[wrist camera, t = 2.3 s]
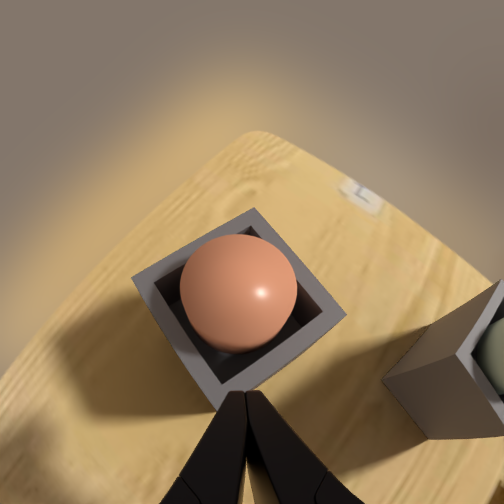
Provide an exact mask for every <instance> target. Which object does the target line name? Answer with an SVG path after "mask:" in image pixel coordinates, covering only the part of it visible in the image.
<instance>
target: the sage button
mask: <svg viewBox="0 0 504 504" xmlns="http://www.w3.org/2000/svg"><path fill="white" fill-rule="evenodd" d="M477 364H478V366H479V367H480V369H481V370H482V372H483V373H484V375H485V376H486V378H487V379H488V381H489V382H490V384H491V385H492V387H493V388H494V390H495V391H496V393H497V394H498V395H501V394H504V318H502V319H500V320H498V321H497V322H495V323H493V324H491V325H489V326H488V327H487V328H486V330H485V331H484V333H483V335H482V336H481V338H480V340H479V343H478V348H477Z"/></svg>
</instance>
